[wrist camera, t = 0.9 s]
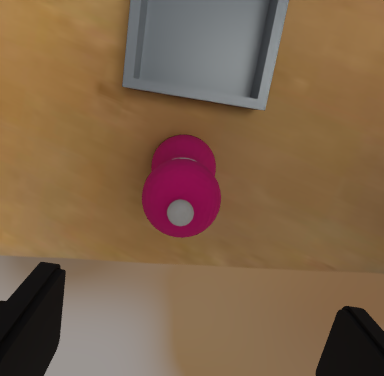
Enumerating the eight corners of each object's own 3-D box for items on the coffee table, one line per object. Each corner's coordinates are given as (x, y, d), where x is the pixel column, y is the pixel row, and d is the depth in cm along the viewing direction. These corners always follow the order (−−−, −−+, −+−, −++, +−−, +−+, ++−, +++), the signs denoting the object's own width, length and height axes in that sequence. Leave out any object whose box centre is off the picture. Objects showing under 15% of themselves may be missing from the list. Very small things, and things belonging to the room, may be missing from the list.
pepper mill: (157, 128, 38) (125, 155, 18) (216, 134, 38) (245, 167, 19) (153, 185, 40) (120, 263, 20) (209, 190, 40) (228, 273, 21)
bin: (284, -33, 33) (300, -55, 28) (255, 109, 37) (264, 110, 32) (146, -59, 32) (138, -87, 28) (131, 88, 36) (122, 86, 32)
